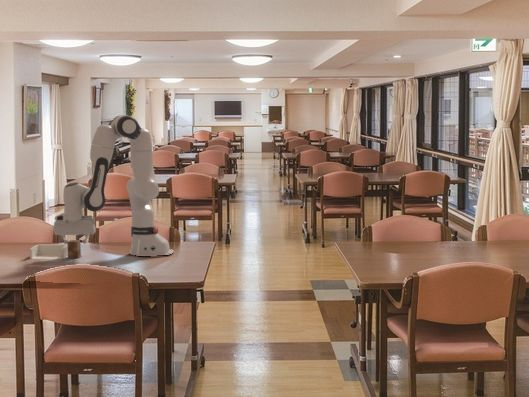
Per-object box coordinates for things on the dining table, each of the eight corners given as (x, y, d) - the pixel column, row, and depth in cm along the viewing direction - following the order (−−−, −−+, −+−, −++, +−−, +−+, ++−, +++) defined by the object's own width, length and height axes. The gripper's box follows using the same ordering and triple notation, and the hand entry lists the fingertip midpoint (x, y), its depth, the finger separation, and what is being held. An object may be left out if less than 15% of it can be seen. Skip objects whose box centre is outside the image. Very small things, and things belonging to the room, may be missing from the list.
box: (69, 255, 370) (68, 244, 369) (62, 260, 359) (62, 249, 359) (37, 255, 371) (37, 244, 370) (30, 259, 360) (29, 248, 359)
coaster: (81, 257, 366) (81, 255, 366) (78, 259, 360) (78, 258, 360) (70, 256, 367) (70, 255, 367) (66, 259, 361) (66, 258, 361)
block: (80, 256, 366) (80, 240, 365) (77, 258, 361) (77, 242, 360) (70, 256, 366) (70, 240, 365) (67, 258, 361) (67, 242, 360)
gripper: (96, 214, 364) (98, 241, 366) (55, 215, 365) (57, 242, 366) (93, 216, 358) (94, 244, 359) (51, 217, 358) (53, 245, 360)
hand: (75, 243), depth 363 cm, fingers open, 8 cm apart
